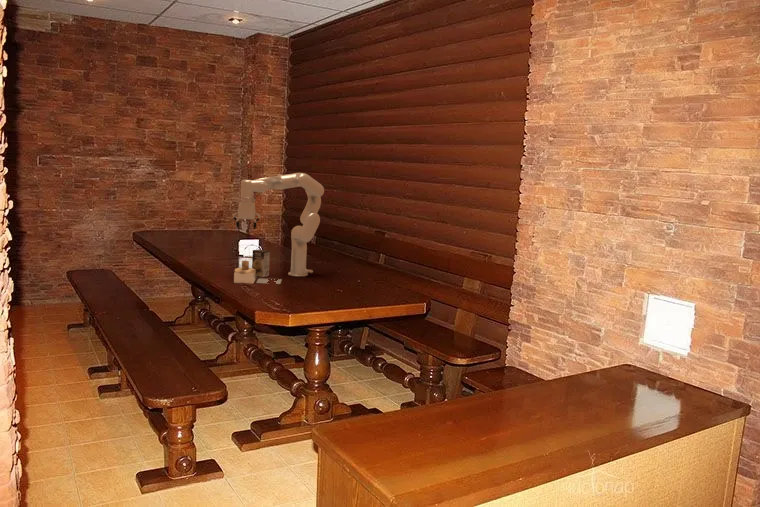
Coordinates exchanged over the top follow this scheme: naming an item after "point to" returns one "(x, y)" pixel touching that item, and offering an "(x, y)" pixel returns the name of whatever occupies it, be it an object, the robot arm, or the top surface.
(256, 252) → the coffee box
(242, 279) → the small beige box
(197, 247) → the top surface
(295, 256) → the robot arm
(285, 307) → the top surface
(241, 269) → the lid
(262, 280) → the mat
